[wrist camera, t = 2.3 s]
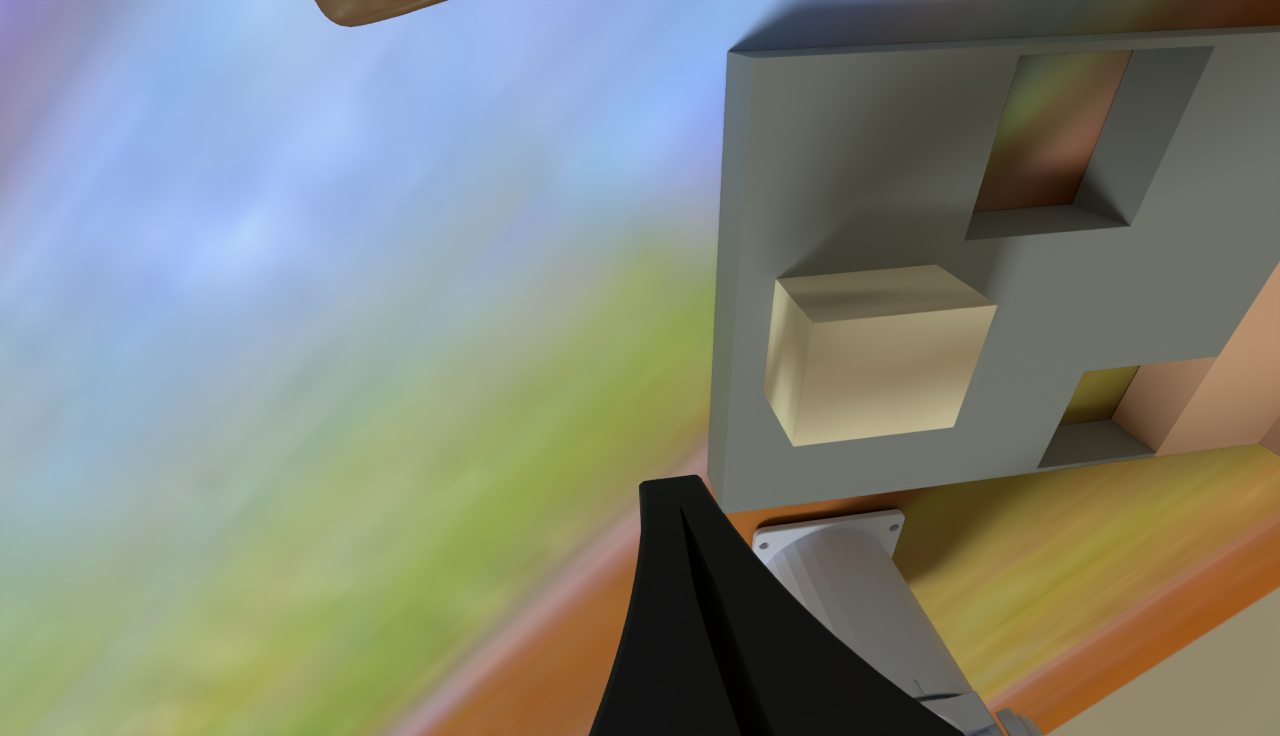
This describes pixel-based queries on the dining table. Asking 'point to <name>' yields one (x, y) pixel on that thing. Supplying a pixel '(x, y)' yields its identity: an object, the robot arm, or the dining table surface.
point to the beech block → (872, 352)
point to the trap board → (1008, 253)
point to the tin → (369, 10)
